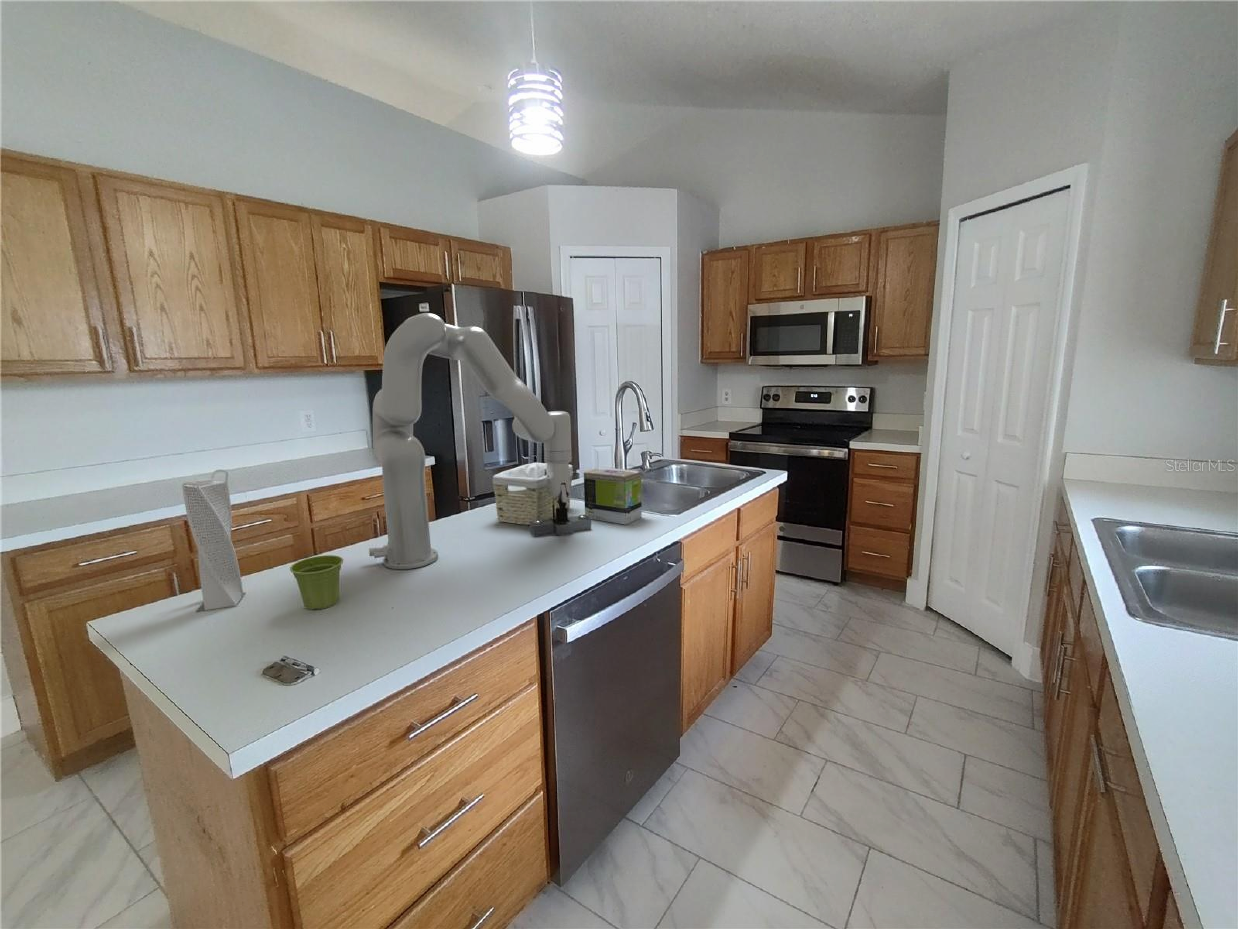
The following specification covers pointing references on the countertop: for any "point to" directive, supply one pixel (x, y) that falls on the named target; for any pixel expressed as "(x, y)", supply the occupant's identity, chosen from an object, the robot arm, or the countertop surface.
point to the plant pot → (318, 580)
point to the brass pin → (555, 510)
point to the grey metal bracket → (560, 526)
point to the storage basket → (524, 494)
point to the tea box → (613, 495)
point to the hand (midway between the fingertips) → (560, 519)
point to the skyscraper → (213, 542)
